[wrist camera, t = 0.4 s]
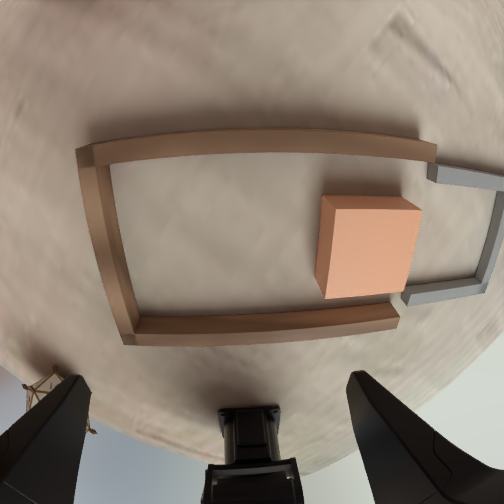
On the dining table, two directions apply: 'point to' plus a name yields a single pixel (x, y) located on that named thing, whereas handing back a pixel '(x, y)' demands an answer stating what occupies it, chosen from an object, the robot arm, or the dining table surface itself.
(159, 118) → the dining table surface
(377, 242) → the terracotta block
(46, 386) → the game die
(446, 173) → the grey bay
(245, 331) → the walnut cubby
